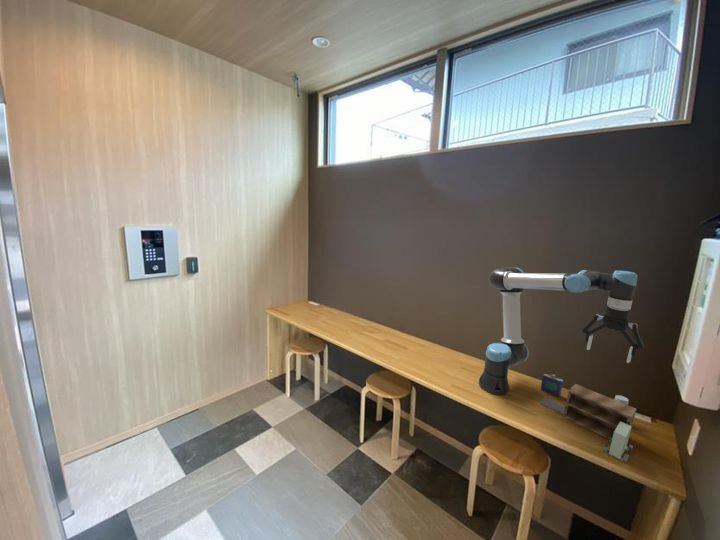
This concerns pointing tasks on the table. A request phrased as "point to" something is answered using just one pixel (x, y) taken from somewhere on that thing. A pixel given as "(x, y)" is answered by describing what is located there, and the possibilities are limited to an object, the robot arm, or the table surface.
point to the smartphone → (553, 405)
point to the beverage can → (622, 399)
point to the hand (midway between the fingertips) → (607, 355)
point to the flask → (551, 385)
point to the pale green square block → (620, 440)
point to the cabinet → (596, 411)
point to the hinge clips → (616, 457)
